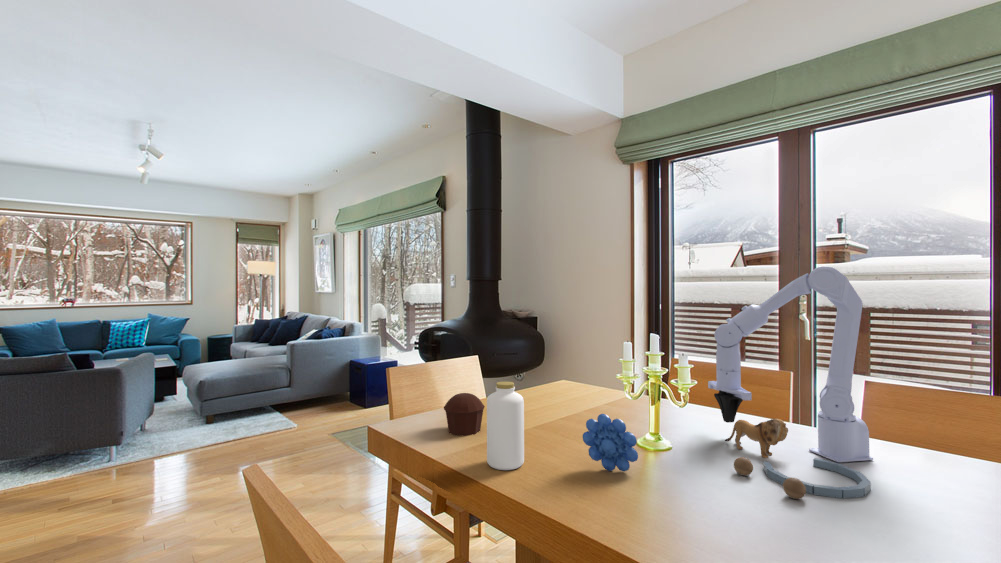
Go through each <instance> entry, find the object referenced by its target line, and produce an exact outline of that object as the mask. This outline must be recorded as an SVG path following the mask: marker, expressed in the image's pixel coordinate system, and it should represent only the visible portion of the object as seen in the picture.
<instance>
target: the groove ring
mask: <svg viewBox="0 0 1001 563" xmlns="http://www.w3.org/2000/svg"><path fill="white" fill-rule="evenodd" d="M812 462H813V465H812V466H813V467H816V468H820V469H824V470H827V471H831V472H836V473H838V474H841V475H842V476H845V477H848V478H850V479H851V480H854V481H855V482H856V483H857V485H850V486H849V485H848V486H839V487H838V486H830V485H821V484H816V483H810V482H807V481H803V480H800V481H801V482H802V483H803V484H804V485H805V488H806V494H811V495H815V496H821V497H830V498H837V499H849V498H851V499H852V498H854V499H855V498H863V497H866V496H867V494H868V493H870V491H871V488H872V487H871V486H872V484H871V481H870V479H869V478H868V477H866V476H865V475H864V473H862V472H861V471H858V470H856V469H854V468H851V467H849V466H847V465H844V464H841V463H839V462H835V461H834V462H833V461H830V460H826V459H821V458H817V457H814V458H813V460H812ZM762 464H763V468H762V469H763V470H764V472H765V475H766V476H767V477H768V478H769V479H771V480H773V481H775V482H777V483H779V484H781V485H782V486H783V483H784V481H785V480H786V479H787V478H790V477H789V476H787V475H785V474H784V473H781V472H780V471H777V470H776V469H774V467H773V466H772V464H771V462H770V461H769V462H768V461H763V462H762Z"/></svg>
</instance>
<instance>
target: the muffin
mask: <svg viewBox="0 0 1001 563" xmlns="http://www.w3.org/2000/svg"><path fill="white" fill-rule="evenodd" d="M485 408H486V406H485V405H484V403H483V402H482V400H481V399H480V398H479V397H478V396H476V395H475V394H473V393H468V392H461V393H456V394H455V395H452V397H451V398H449V399H448V400H447V402H446V403H445V405H444V406H443V410H444V411H445V416H446V423H447V429H448V433H449V434H450V433H451V435H453V436H462V435H463V436H465V437H466V436H471V435H472V434H473V435H476V434H478V433H480V432H481V427H482V423H483V422H482V421H483V414H484V409H485ZM479 431H480V432H479ZM477 432H478V433H477Z"/></svg>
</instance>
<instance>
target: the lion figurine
mask: <svg viewBox="0 0 1001 563" xmlns="http://www.w3.org/2000/svg"><path fill="white" fill-rule="evenodd" d="M788 433H789V428H788V427H787V423H785V422H784V421H783V420H782V419H780V418H772V419H770V420H766V421H762V422H759V423H758V424H752V423H751V422H749V421H747V420H745V419H738V420H737V421H736V422H735V423H734V426H733V428H732V432H731V435H730V436H729V437H728V438H725V439H724V442H730V441H731V440H732V439H733V438H734V436H735V439H734V442H735V444H736V449H737V450H741V451H742V450H744V447H743V446H741V445H742V442H741V439H742V438H743V437H745V436H746V437H747V438H748V439H749V440H752V441H753V442H759V446H760V447H759V448H760V456H761V458H763V459H768V458H769V456H773V452H771V451H770V448H771V446H776V445H777V444H778V443H779V442H783V441H784V440H786V439H787V436H788ZM735 434H736V435H735Z"/></svg>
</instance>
